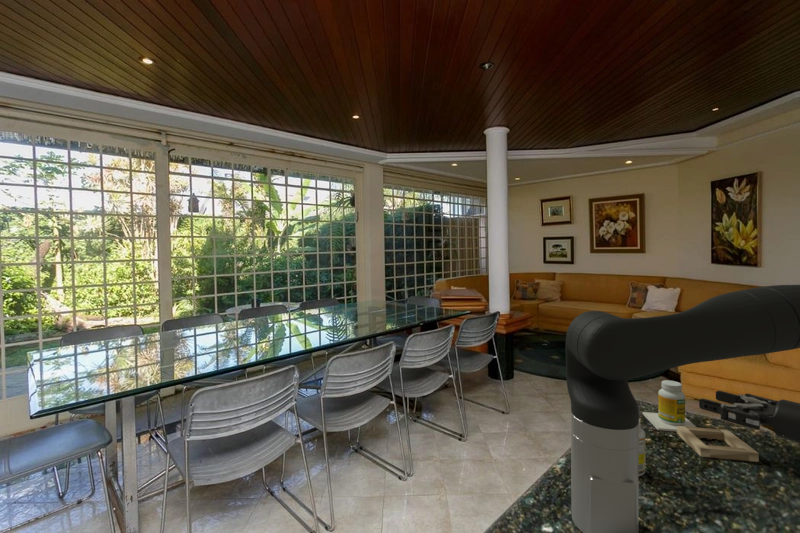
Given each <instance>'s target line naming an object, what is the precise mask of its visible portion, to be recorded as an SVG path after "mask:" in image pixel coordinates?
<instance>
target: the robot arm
mask: <svg viewBox="0 0 800 533" xmlns="http://www.w3.org/2000/svg"><path fill="white" fill-rule="evenodd" d="M565 336H566V337H565V373H566V387H567V392H568V395H569V399H570V410H571V411H570V465H571V466H570V479H571V481H570V485H571V486H570V492H571V493H570V494H571V495H570V496H571V498H570V501H571V502H570V503H571V519H572V520H571V521H572V522H573V523H574V526H576V528H577V529H578V530H579V531H580V532H581V533H640V532H639V526H640V525H639V520H640V519H639V498H640V497H639V494H640V493H639V492H640V491H639V489H640V488H639V487H640V486H639V484H640V483H639V477H640V476H639V419H640V409H639V405H638V402H637V399H635V396H634V395H633V392H632V390H631V388H630V385H629V382H628V380H632V379H636V378H640V377H644V376H648V375H652V374H655V373H658V372H662V371H667V370H670V369H673V368H678V367H682V366H686V365H691V364H698V363H706V362H714V361H720V360H721V361H722V360H728V359H735V358H741V357H751V356H759V355H766V354H773V353H779V352H785V351H790V350H792V351H793V350H798V349H800V284H778V285H766V286H765V285H764V286H758V287H754V288H753V287H752V288H747V289H741V290H736V291H735V290H734V291H731V292H726V293H722V294H719V295H716V296H713V297H711V298H708V299H706V300H704V301H702V302H700V303H698V304H696V305H695V306H693V307H691V308H689V309H687V310H684V311H681V312H677V313H673V314H667V315H657V316H651V317H635V318H631V317H630V318H629V317H628V318H624V317H620V316H618V315H615V314H611V313H609V312H606V311H601V310H589V311H585V312H582V313H580V314H579V315H577V316H576V317H575V318H574V319H573V320H572V321H571V323H570V324H569V325H568V328H567V331H566V334H565ZM715 400H717V401H714V400H710V399H707V398H700V399H699V400H698V401H699V403H698V404H699V405H698V406H699V409H701V410H704V411H707V412H711V413H714V414H719V415H720V420H722V421H725V422H729V423H732V424H736V425H740V426H743V427H745V428H750V429H754V430H760V428H761V426H769V427H771V428H772V429H773V432H774V434H775V435H776V437H778V438H781V439H784V440H787V441H789V442H790V441H791V442H794V443H798V444H800V402H796V401H792V400H788V399H787V400H786V399H780V400H774V399H771V398H767V397H763V396H759V395H755V394H750V393H744V394H735V393H732V392H731V393H730V392H726V391H724V390H723V391H722V390H717V391H715ZM722 402H723V403H722ZM783 435H784V436H783Z"/></svg>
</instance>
